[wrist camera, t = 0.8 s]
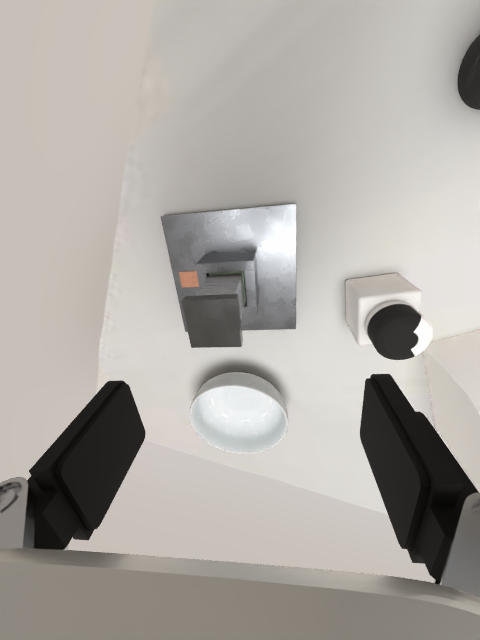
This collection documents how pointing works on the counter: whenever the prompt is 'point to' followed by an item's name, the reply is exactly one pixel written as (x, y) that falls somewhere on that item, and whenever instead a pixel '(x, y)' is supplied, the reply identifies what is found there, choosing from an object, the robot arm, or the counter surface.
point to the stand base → (239, 258)
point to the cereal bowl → (239, 413)
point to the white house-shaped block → (457, 396)
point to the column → (216, 311)
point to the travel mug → (470, 76)
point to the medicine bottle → (387, 315)
